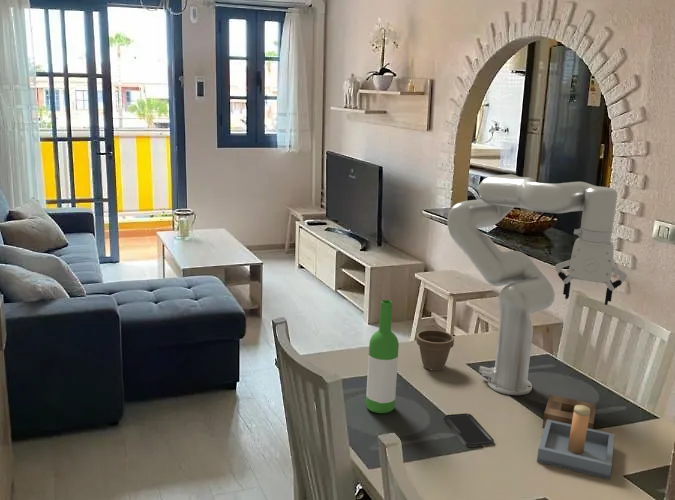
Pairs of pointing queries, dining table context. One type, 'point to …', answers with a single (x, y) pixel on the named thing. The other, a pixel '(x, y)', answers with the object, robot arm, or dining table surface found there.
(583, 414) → the peg
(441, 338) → the flower pot
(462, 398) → the dining table surface
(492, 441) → the phone
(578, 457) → the tray
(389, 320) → the wine bottle
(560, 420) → the pin block
